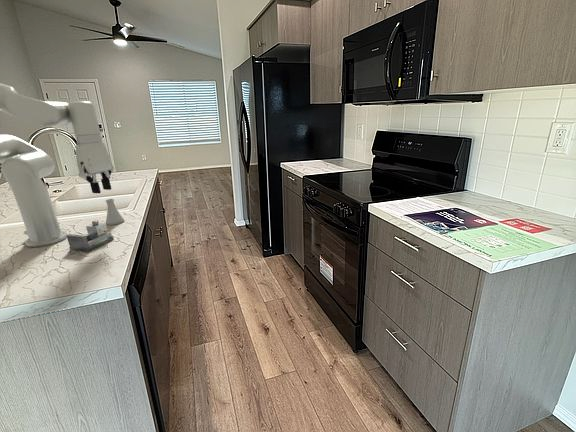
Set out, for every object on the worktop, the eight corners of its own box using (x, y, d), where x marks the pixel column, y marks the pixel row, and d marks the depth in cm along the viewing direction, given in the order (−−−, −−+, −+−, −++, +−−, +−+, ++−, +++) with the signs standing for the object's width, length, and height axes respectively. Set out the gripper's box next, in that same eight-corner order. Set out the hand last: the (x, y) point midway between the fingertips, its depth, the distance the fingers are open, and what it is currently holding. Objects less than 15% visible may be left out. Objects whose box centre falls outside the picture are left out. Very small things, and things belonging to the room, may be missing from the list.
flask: (102, 222, 132) (97, 200, 128) (120, 218, 136) (115, 196, 133) (109, 226, 127) (103, 203, 123) (127, 221, 132) (122, 199, 128)
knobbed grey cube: (98, 234, 115) (94, 219, 113) (112, 236, 113) (108, 220, 111) (89, 239, 112) (85, 223, 110) (103, 240, 110) (99, 224, 108)
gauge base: (96, 237, 116) (93, 223, 115) (113, 239, 114) (110, 225, 112) (70, 250, 107) (65, 235, 105) (88, 252, 104) (83, 237, 102)
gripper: (100, 137, 115) (112, 185, 121) (58, 142, 100) (73, 197, 106) (117, 137, 113) (127, 185, 119) (76, 142, 98) (90, 198, 104)
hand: (102, 190), depth 113 cm, fingers open, 4 cm apart
